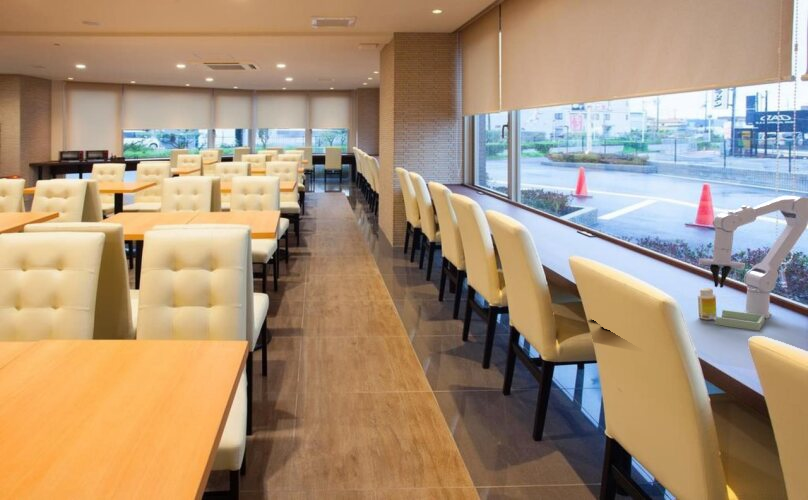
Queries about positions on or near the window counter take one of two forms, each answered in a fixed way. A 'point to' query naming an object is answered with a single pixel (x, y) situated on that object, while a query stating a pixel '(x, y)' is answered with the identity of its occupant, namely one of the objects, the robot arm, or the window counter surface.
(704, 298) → the supplement bottle
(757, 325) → the tray
